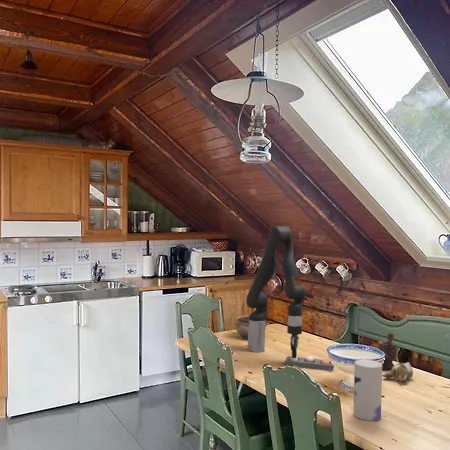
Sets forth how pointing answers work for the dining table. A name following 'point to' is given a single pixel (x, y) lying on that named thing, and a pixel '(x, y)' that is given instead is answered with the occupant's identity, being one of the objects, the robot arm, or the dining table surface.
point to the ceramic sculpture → (400, 372)
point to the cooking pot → (243, 326)
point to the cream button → (310, 359)
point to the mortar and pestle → (388, 351)
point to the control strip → (309, 364)
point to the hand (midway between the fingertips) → (294, 357)
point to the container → (367, 389)
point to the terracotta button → (325, 362)
